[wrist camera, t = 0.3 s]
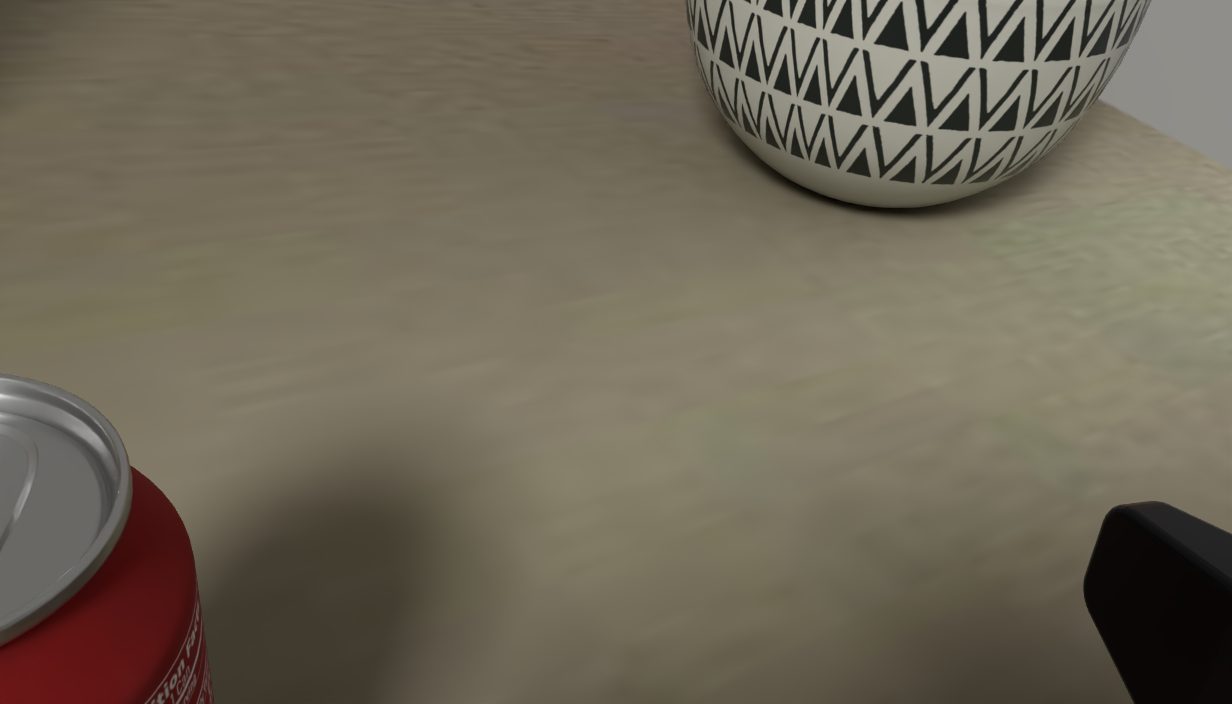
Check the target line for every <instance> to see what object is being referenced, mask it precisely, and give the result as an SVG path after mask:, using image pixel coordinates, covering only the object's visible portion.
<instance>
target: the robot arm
mask: <svg viewBox="0 0 1232 704" xmlns="http://www.w3.org/2000/svg"><path fill="white" fill-rule="evenodd" d="M1083 591H1084V598H1085V602H1086V606H1087V608H1088V611H1089V613H1090V615H1091V617H1092V619H1093V621H1094V623H1095V625H1096V627H1097V629H1098V631H1099V633H1100V635H1101V637H1102V639H1103V641H1104V644H1105V646H1106V648H1107V650H1108V652H1109V654H1110V656H1111V658H1112V660H1113V662H1114V664H1115V666H1116V668H1117V670H1118V672H1119V674H1120V676H1121V678H1122V680H1123V682H1124V684H1125V686H1126V688H1127V690H1128V692H1129V694H1130V696H1131V698H1132V700H1133V702H1134V704H1232V534H1231V533H1229V532H1226V531H1224V530H1222V529H1220V528H1218V527H1216V526H1214V525H1211V524H1209V523H1207V522H1205V521H1203V520H1201V519H1199V518H1196V517H1194V516H1192V515H1190V514H1188V513H1186V512H1184V511H1181V510H1179V509H1177V508H1175V507H1173V506H1171V505H1169V504H1166V503H1163V502H1158V501H1148V502H1140V503H1131V504H1123V505H1118V506H1116V507H1114V508H1112V509H1111V510H1110V511H1109V512H1108V513H1107V515H1106V516H1105V518H1104V520H1103V523H1102V526H1101V529H1100V532H1099V535H1098V538H1097V541H1096V544H1095V547H1094V550H1093V553H1092V556H1091V559H1090V562H1089V565H1088V568H1087V571H1086V574H1085V577H1084V584H1083Z"/></svg>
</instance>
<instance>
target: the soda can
mask: <svg viewBox="0 0 1232 704" xmlns="http://www.w3.org/2000/svg"><path fill="white" fill-rule="evenodd" d="M0 704H214V698H213V691H212V684H211V677H210V669H209V662H208V655H207V648H206V641H205V633H204V626H203V619H202V612H201V605H200V598H199V590H198V583H197V576H196V569H195V562H194V556H193V551H192V547H191V543H190V539H189V536H188V533H187V531H186V528H185V526H184V523H183V521H182V519H181V518H180V516H179V514H178V513H177V511H176V509H175V507H174V506H173V505H172V503H171V502H170V501H169V500H168V498H167V497H166V496H165V495H164V493H163V492H162V491H161V490H160V489H159V488H158V487H157V486H156V485H155V484H154V483H153V482H152V481H150V480H149V479H148V478H147V477H145V476H144V475H143V474H141V473H140V472H139V471H138V470H136V469H135V468H133V467H132V466H130V463H129V458H128V454H127V452H126V449H125V446H124V444H123V442H122V440H121V438H120V436H119V434H118V433H117V431H116V429H115V428H114V427H113V426H112V424H111V423H110V422H109V421H108V419H106V418H105V417H104V416H103V415H102V414H101V413H100V412H99V411H98V410H97V409H95V408H94V407H93V406H91V405H90V404H89V403H87V402H86V401H84V400H82V399H81V398H79V397H77V396H75V395H74V394H72V393H69V392H67V391H65V390H63V389H61V388H58V387H55V386H52V385H50V384H47V383H44V382H40V381H36V380H33V379H29V378H24V377H19V376H14V375H8V374H0Z"/></svg>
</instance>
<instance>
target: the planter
mask: <svg viewBox="0 0 1232 704" xmlns="http://www.w3.org/2000/svg"><path fill="white" fill-rule="evenodd" d="M1150 2H1151V0H685V4H686V13H687V20H688V27H689V34H690V40H691V45H692V49H693V53H694V57H695V61H696V64H697V67H698V70H699V72H700V75H701V77H702V80H703V82H704V85H705V87H706V89H707V91H708V92H709V94H710V96H711V98H712V100H713V102H714V103H715V105H716V107H717V108H718V110H719V111H720V113H721V114H722V115H723V117H724V118H725V120H726V121H727V123H728V124H729V126H730V127H731V128H732V129H733V130H734V132H735V133H736V134H737V135H738V136H739V137H740V139H741V140H742V141H743V142H744V143H745V144H746V145H747V146H748V147H749V148H750V149H751V150H752V151H753V152H754V153H755V154H756V155H757V156H758V157H759V158H760V159H761V160H762V161H764V162H765V163H766V164H768V165H769V166H770V167H771V168H773V169H774V170H775V171H777V172H778V173H780V174H781V175H783V176H784V177H786V178H788V179H789V180H791V181H793V182H795V183H797V184H799V185H801V186H803V187H805V188H807V189H809V190H812V191H814V192H817V193H819V194H822V195H825V196H828V197H831V198H834V199H838V200H841V201H845V202H849V203H854V204H859V205H865V206H873V207H884V208H914V207H925V206H931V205H936V204H942V203H946V202H951V201H954V200H957V199H961V198H964V197H967V196H970V195H973V194H976V193H978V192H981V191H983V190H985V189H988V188H990V187H993V186H995V185H997V184H999V183H1001V182H1003V181H1005V180H1007V179H1009V178H1011V177H1013V176H1014V175H1016V174H1018V173H1020V172H1022V171H1023V170H1025V169H1026V168H1028V167H1029V166H1031V165H1032V164H1034V163H1035V162H1037V161H1038V160H1040V159H1041V158H1043V157H1044V156H1045V155H1046V154H1048V153H1049V152H1050V151H1051V150H1052V149H1054V148H1055V147H1056V146H1057V145H1058V144H1059V143H1060V142H1062V141H1063V140H1064V139H1065V137H1066V136H1067V135H1068V134H1069V133H1070V132H1071V131H1072V130H1073V129H1074V128H1075V127H1076V126H1077V124H1078V123H1079V122H1080V121H1081V119H1082V118H1083V117H1084V116H1085V114H1086V113H1087V112H1088V110H1089V109H1090V108H1091V106H1092V105H1093V104H1094V102H1095V101H1096V100H1097V98H1098V97H1099V96H1100V95H1101V93H1102V92H1103V90H1104V89H1105V87H1106V85H1107V84H1108V82H1109V81H1110V79H1111V78H1112V76H1113V75H1114V73H1115V72H1116V70H1117V69H1118V67H1119V66H1120V64H1121V62H1122V60H1123V58H1124V56H1125V54H1126V53H1127V51H1128V49H1129V47H1130V45H1131V43H1132V41H1133V39H1134V37H1135V35H1136V33H1137V31H1138V29H1139V27H1140V24H1141V22H1142V20H1143V18H1144V16H1145V14H1146V11H1147V9H1148V7H1149V5H1150Z"/></svg>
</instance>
